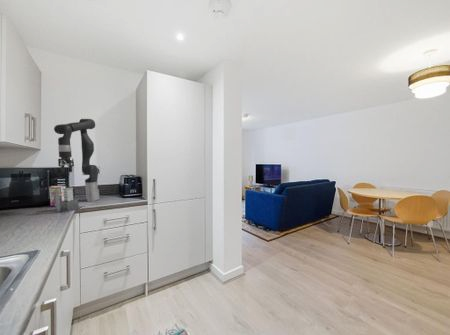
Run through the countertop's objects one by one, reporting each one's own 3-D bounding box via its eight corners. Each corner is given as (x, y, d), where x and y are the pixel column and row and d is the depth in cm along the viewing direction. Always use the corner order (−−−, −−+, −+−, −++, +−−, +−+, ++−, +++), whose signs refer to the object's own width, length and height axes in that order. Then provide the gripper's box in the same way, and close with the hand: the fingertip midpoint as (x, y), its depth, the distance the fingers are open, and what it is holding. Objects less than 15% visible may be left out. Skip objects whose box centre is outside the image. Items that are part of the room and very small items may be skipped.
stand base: (73, 206, 162) (72, 198, 161) (84, 207, 157) (84, 199, 157) (53, 211, 149) (52, 202, 148) (65, 212, 144) (64, 203, 143)
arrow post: (62, 210, 149) (60, 190, 148) (64, 211, 148) (62, 190, 147) (55, 212, 145) (53, 191, 144) (57, 212, 144) (55, 191, 143)
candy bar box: (49, 206, 163) (48, 187, 162) (55, 204, 168) (54, 185, 167) (62, 206, 162) (60, 187, 161) (67, 204, 167) (66, 186, 166)
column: (71, 206, 156) (69, 187, 155) (74, 207, 155) (73, 187, 153) (64, 208, 151) (62, 188, 150) (67, 209, 150) (66, 188, 148)
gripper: (76, 150, 150) (78, 171, 152) (64, 151, 155) (66, 171, 157) (65, 150, 143) (67, 172, 145) (53, 151, 148) (55, 172, 150)
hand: (66, 172), depth 151 cm, fingers open, 8 cm apart
